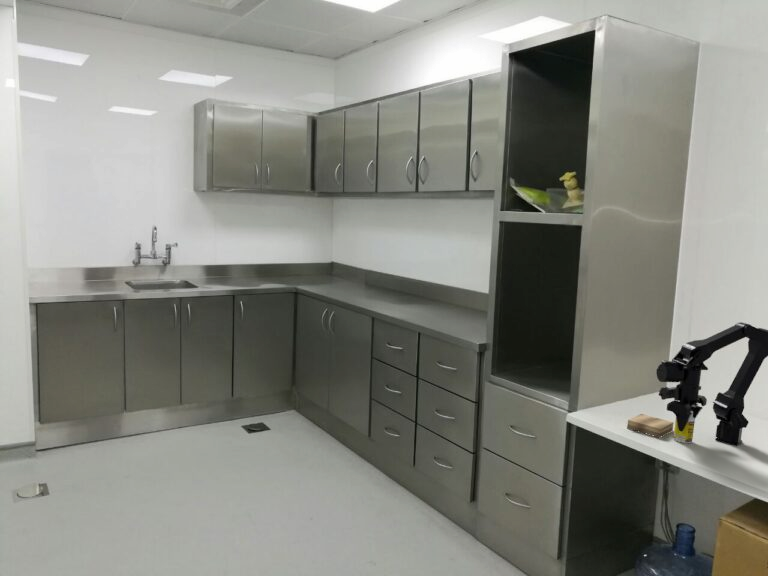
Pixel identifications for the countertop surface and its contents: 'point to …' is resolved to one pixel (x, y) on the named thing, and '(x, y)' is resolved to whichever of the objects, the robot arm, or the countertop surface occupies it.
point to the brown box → (650, 425)
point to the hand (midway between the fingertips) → (684, 429)
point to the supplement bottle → (685, 431)
